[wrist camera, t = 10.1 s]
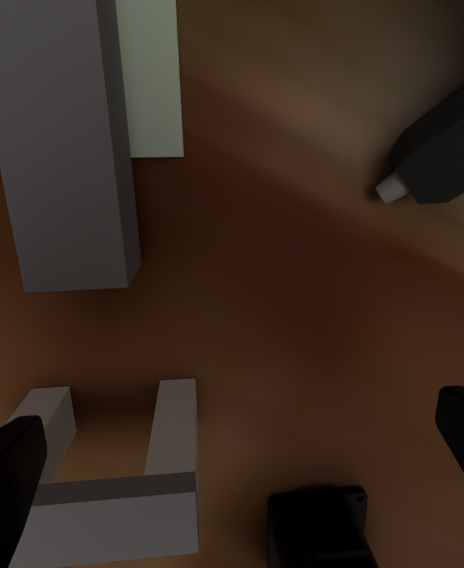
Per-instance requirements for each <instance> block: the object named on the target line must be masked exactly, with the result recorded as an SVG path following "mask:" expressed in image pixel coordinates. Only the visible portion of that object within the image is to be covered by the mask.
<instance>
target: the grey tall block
mask: <svg viewBox="0 0 464 568" xmlns="http://www.w3.org/2000/svg"><path fill="white" fill-rule="evenodd" d="M0 170H1V176H2V181H3V186H4V191H5V196H6V201H7V206H8V211H9V216H10V221H11V226H12V231H13V236H14V241H15V246H16V252H17V257H18V262H19V267H20V272H21V277H22V282H23V287H24V292H25V293H34V292H53V291H72V290H91V289H110V288H128V287H129V285H130V283H131V282H132V280H133V278H134V277H135V275H136V273H137V271H138V270H139V268H140V266H141V265H142V262H141V252H140V242H139V232H138V222H137V212H136V202H135V192H134V182H133V172H132V162H131V152H130V142H129V132H128V122H127V112H126V102H125V92H124V82H123V72H122V62H121V52H120V42H119V32H118V22H117V12H116V2H115V0H0Z"/></svg>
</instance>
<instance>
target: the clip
mask: <svg viewBox="0 0 464 568" xmlns="http://www.w3.org/2000/svg"><path fill="white" fill-rule="evenodd" d="M28 415H38V416H40V417H41V419H42V422H43V427H44V432H45V437H46V442H47V458H46V462H45V465H44V468H43V471H42V474H41V478H40V481H39V484H38V487H37V490H36V494H35V497H34V500H33V503H32V506H31V510H30V513H29V516H28V519H27V522H26V525H25V528H24V531H23V534H22V536H21V538H20V541H19V543H18V546H17V548H16V551H15V553H14V555H13V558H12V560H11V562H10V565H9V567H8V568H58V567H68V566H78V565H88V564H97V563H107V562H117V561H126V560H136V559H146V558H155V557H165V556H175V555H184V554H194V553H199V503H198V417H197V397H196V378H190V379H175V380H160V384H159V390H158V396H157V402H156V408H155V414H154V419H153V425H152V431H151V437H150V443H149V449H148V455H147V460H146V466H145V472H144V476H134V477H122V478H111V479H99V480H87V481H75V482H64V483H53V482H54V480H55V478H56V476H57V474H58V472H59V469H60V467H61V465H62V463H63V461H64V458H65V456H66V454H67V452H68V450H69V448H70V445H71V443H72V441H73V439H74V437H75V434H76V432H77V430H76V424H75V418H74V412H73V406H72V400H71V394H70V388H69V386H66V387H51V388H36V389H31V391H30V392H29V393H28V395H27V396H26V397H25V399H24V400H23V401H22V403H21V404H20V405H19V407H18V408H17V409H16V411H15V412H14V413H13V414H12V416H11V417H10V418H9V420H8V421H7V422H6V424H7V423H9V422H10V421H12V420H13V419H15V418H17V417H19V416H28Z"/></svg>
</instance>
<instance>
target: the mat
mask: <svg viewBox="0 0 464 568" xmlns="http://www.w3.org/2000/svg"><path fill="white" fill-rule="evenodd" d="M115 2H116V12H117V22H118V32H119V42H120V52H121V62H122V72H123V82H124V92H125V102H126V112H127V122H128V132H129V142H130V152H131V158H148V157H184V149H183V130H182V111H181V92H180V73H179V53H178V34H177V15H176V0H115Z"/></svg>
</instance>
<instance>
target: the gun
mask: <svg viewBox="0 0 464 568" xmlns="http://www.w3.org/2000/svg"><path fill="white" fill-rule="evenodd" d="M391 157H392V160H393V164H394V168H395V172H393V173H392V174H391V175H390V176H388V177H387V178H386V179H385V180H383V181H382V182H381V183H380V184H379V185H377V186H376V190H377V192H378V194H379V195H380V197H381V198H382V200H383V201H384V202H385V203H386V204H387V203H390V202H392V201H394V200H396V199H398V198H400V197H403V196H405V195H407V194H409V193H410V192H411V194H412V195H413V197H414V198H415V200H416V201H417V203H418V204H426V203H443V202H449V201H450V200H452V199H454V198H456V197H458V196H459V195H461V194H463V193H464V89H462V90H461V91H459V92H458V93H457V94H455V95H454V96H452V97H451V98H449V99H448V100H447V101H445V102H444V103H442V104H441V105H439V106H438V107H437V108H435V109H434V110H432V111H431V112H429V113H428V114H427V115H425V116H424V117H422V118H421V119H420V120H418V121H417V122H415V123H414V124H412V125H411V126H410V127H408V128H407V129H405V130H404V132H403V133H402V135H401V137H400V138H399V140H398V142H397V143H396V145H395V147H394V148H393V150H392V152H391Z"/></svg>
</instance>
